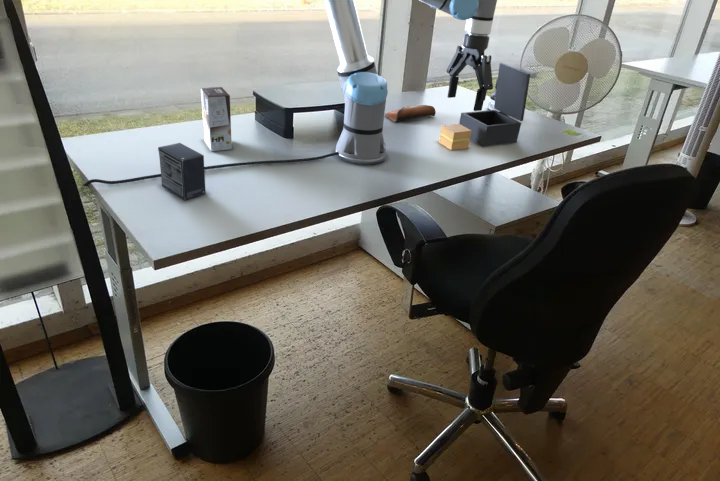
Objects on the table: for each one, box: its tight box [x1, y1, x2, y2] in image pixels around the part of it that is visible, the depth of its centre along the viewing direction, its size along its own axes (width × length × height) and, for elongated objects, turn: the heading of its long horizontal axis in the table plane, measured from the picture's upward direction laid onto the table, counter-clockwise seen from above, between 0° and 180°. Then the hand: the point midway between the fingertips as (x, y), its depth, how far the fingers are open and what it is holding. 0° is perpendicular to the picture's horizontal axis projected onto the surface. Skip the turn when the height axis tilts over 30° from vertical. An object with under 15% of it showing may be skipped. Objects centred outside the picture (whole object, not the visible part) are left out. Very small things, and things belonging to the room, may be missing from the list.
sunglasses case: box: [384, 104, 436, 123], centre depth 201 cm, size 18×7×7 cm
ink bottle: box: [487, 78, 508, 116], centre depth 215 cm, size 10×9×12 cm
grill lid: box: [494, 62, 537, 122], centre depth 187 cm, size 16×14×8 cm
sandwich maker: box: [458, 109, 522, 147], centre depth 189 cm, size 15×14×7 cm
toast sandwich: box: [438, 123, 471, 151], centre depth 180 cm, size 7×7×6 cm
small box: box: [157, 142, 207, 201], centre depth 134 cm, size 11×6×10 cm, turn 48°
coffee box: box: [200, 86, 233, 152], centre depth 160 cm, size 9×6×16 cm
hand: (464, 103), depth 175 cm, fingers open, 13 cm apart
